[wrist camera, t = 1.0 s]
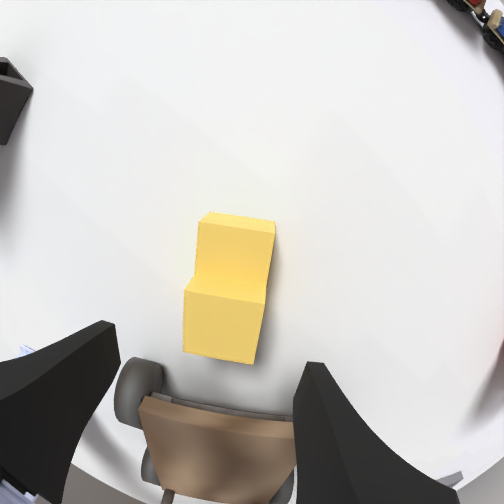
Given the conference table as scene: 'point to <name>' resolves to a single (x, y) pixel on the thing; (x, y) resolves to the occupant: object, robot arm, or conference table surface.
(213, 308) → the yellow step block
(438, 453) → the conference table surface
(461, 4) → the toy train
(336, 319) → the conference table surface
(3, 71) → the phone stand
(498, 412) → the conference table surface
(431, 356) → the conference table surface
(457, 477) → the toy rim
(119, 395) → the trolley
